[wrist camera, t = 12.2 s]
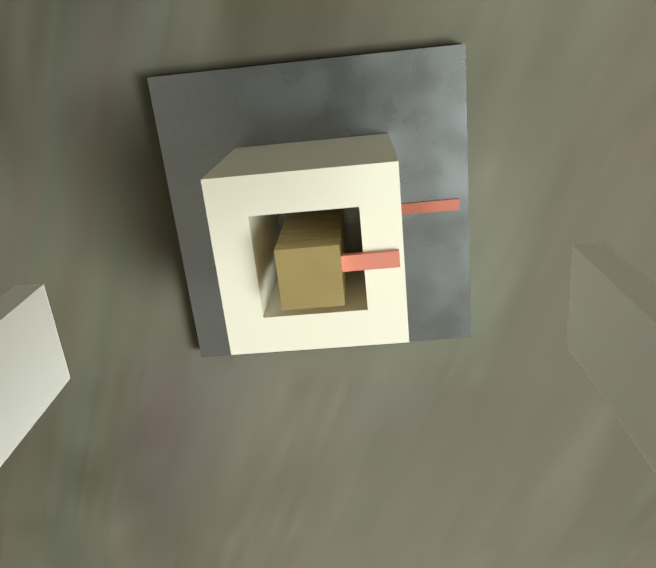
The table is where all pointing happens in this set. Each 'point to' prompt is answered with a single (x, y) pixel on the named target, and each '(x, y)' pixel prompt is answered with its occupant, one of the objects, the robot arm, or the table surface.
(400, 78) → the base plate
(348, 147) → the cream open box
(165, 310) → the table surface
